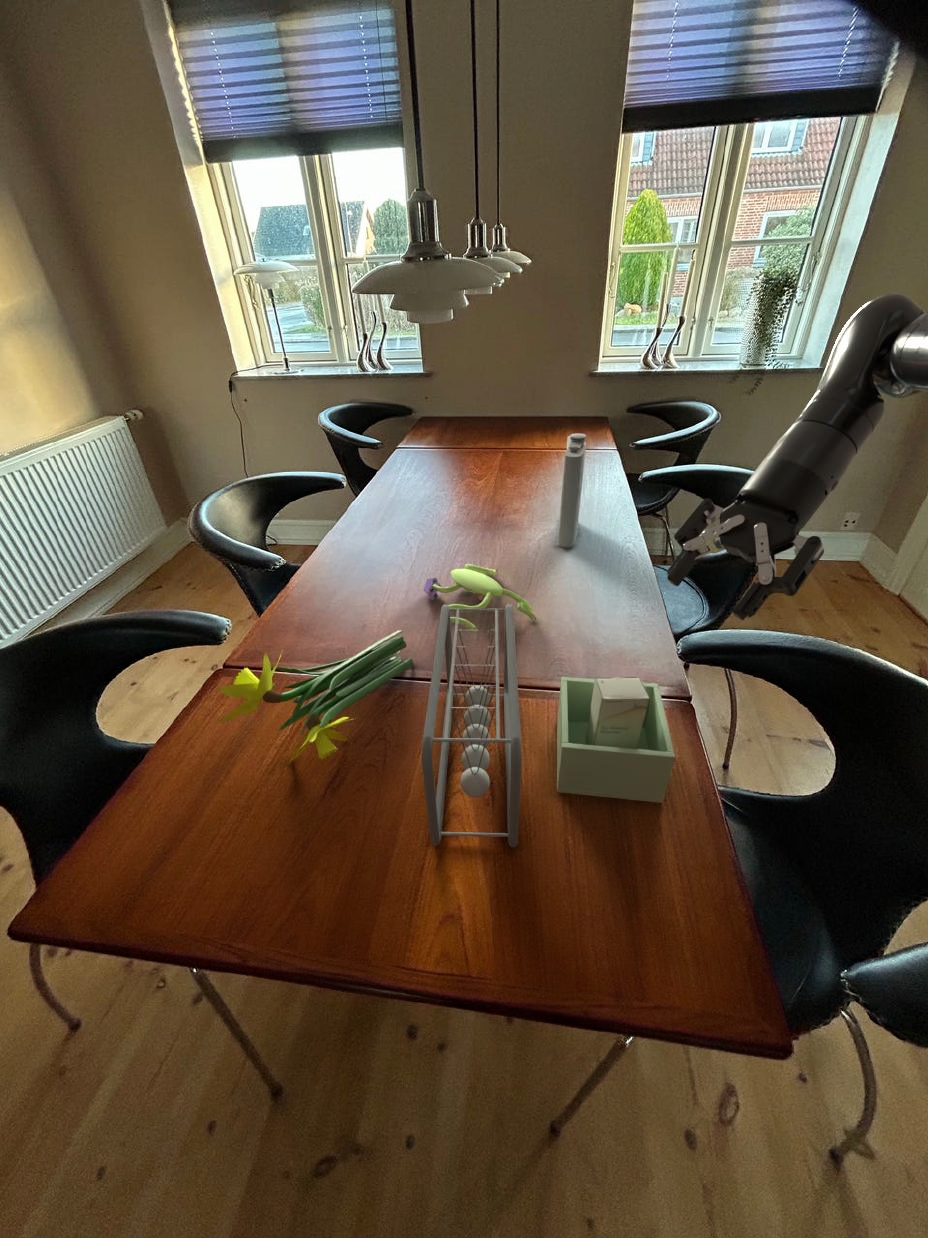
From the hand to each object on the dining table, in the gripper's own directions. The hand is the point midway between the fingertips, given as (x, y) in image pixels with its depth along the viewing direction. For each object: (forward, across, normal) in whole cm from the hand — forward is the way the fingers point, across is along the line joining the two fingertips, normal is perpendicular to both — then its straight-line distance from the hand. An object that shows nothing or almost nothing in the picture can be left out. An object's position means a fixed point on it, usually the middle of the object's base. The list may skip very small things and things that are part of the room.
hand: (703, 598), depth 59 cm
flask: (-9, -65, +49) cm, 82 cm away
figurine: (+18, -49, +21) cm, 56 cm away
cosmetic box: (+22, -5, +16) cm, 28 cm away
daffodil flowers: (+43, -35, -4) cm, 56 cm away
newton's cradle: (+34, -15, +5) cm, 38 cm away
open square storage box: (+23, -5, +16) cm, 28 cm away
